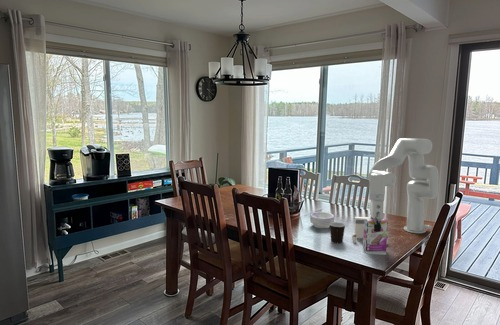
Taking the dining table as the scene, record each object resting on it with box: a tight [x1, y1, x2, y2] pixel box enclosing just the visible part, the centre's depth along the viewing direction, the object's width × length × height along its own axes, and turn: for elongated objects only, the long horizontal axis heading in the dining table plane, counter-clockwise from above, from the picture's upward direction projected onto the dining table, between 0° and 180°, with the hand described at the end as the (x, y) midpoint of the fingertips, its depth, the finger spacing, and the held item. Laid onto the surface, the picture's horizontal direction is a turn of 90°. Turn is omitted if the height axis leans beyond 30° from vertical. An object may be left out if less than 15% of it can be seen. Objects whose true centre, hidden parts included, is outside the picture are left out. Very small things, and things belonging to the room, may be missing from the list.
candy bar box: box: [362, 218, 389, 252], centre depth 179 cm, size 11×5×16 cm, turn 93°
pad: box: [364, 250, 387, 256], centre depth 180 cm, size 10×10×1 cm
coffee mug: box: [329, 221, 346, 244], centre depth 192 cm, size 12×9×10 cm
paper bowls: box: [309, 211, 335, 230], centre depth 221 cm, size 15×15×8 cm
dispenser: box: [351, 216, 389, 245], centre depth 195 cm, size 18×12×12 cm, turn 82°
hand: (375, 228), depth 178 cm, fingers open, 9 cm apart
